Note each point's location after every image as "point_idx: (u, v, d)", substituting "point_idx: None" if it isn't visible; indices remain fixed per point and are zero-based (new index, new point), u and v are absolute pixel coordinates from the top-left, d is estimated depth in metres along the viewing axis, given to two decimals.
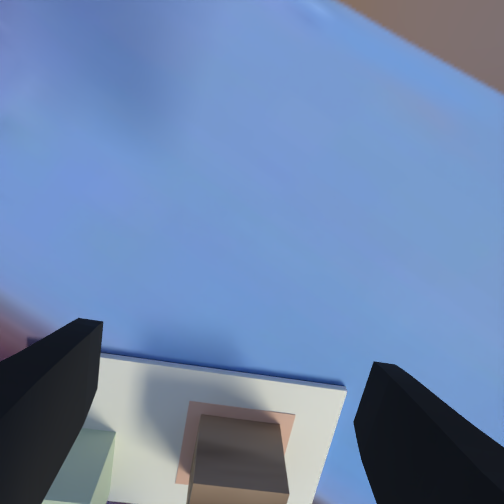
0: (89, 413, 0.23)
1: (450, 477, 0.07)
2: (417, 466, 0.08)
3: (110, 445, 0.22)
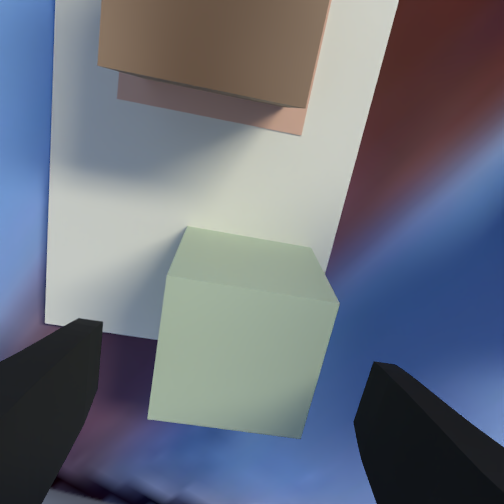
0: (151, 261, 0.15)
1: (450, 477, 0.07)
2: (417, 466, 0.08)
3: (184, 235, 0.14)
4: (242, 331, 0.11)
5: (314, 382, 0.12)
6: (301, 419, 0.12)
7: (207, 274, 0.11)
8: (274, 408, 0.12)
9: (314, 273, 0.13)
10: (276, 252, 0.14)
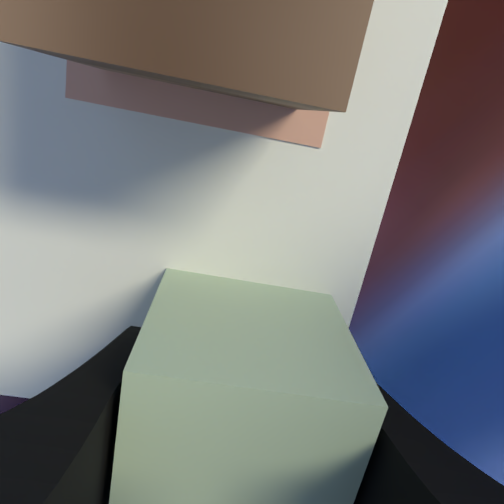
0: (120, 314, 0.11)
1: (382, 469, 0.07)
2: None
3: (161, 284, 0.10)
4: (241, 447, 0.07)
5: None
6: None
7: (187, 361, 0.07)
8: None
9: (342, 344, 0.09)
10: (286, 307, 0.10)
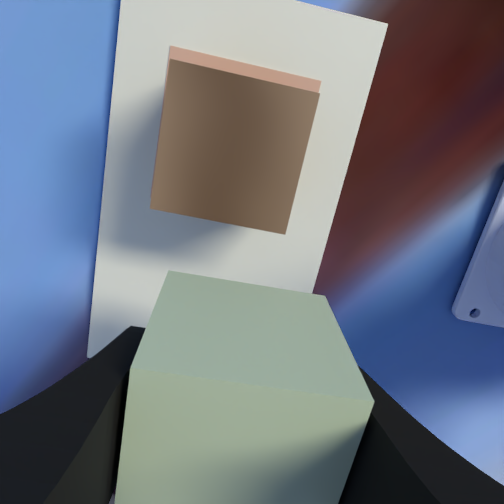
0: None
1: (382, 469, 0.07)
2: (357, 459, 0.08)
3: (163, 286, 0.11)
4: (238, 439, 0.08)
5: (336, 499, 0.09)
6: None
7: (189, 359, 0.08)
8: None
9: (333, 343, 0.10)
10: (282, 308, 0.11)
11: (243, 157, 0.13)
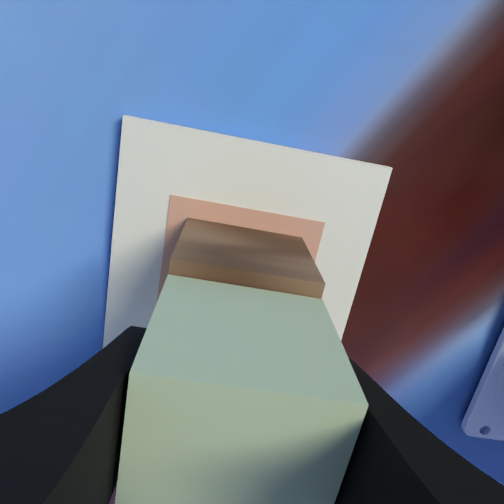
0: None
1: (382, 469, 0.07)
2: (356, 459, 0.08)
3: (163, 290, 0.11)
4: (235, 441, 0.08)
5: (332, 500, 0.09)
6: None
7: (187, 363, 0.08)
8: None
9: (330, 346, 0.10)
10: (280, 311, 0.11)
11: None
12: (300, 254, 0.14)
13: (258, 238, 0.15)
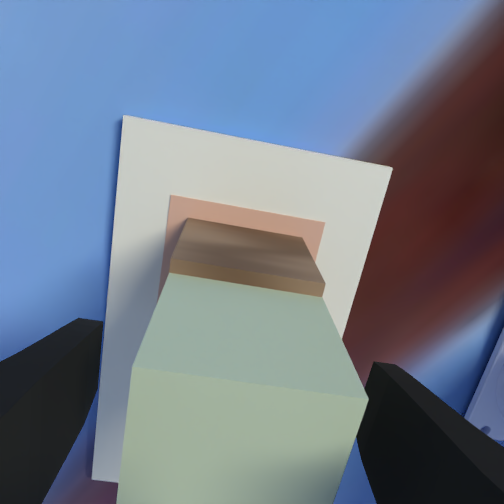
0: None
1: (450, 477, 0.07)
2: (417, 466, 0.08)
3: (164, 288, 0.11)
4: (237, 435, 0.08)
5: (332, 495, 0.09)
6: None
7: (189, 358, 0.08)
8: None
9: (330, 343, 0.10)
10: (280, 309, 0.11)
11: None
12: (300, 254, 0.14)
13: (258, 238, 0.15)
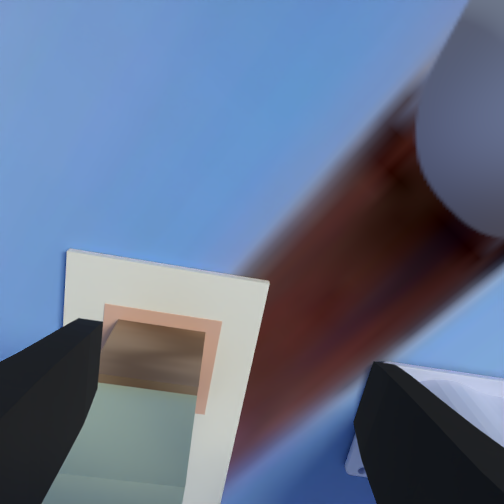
0: None
1: (450, 477, 0.07)
2: (417, 465, 0.08)
3: None
4: None
5: None
6: None
7: (79, 462, 0.14)
8: None
9: (182, 441, 0.15)
10: (159, 411, 0.16)
11: None
12: (194, 354, 0.20)
13: (167, 338, 0.20)
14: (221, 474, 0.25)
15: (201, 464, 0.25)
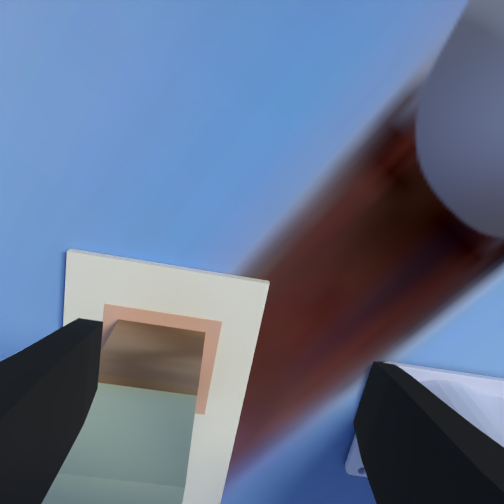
0: None
1: (450, 477, 0.07)
2: (417, 466, 0.08)
3: None
4: None
5: None
6: None
7: (79, 462, 0.14)
8: None
9: (181, 441, 0.15)
10: (159, 411, 0.16)
11: None
12: (194, 354, 0.20)
13: (167, 338, 0.20)
14: (221, 474, 0.25)
15: (201, 464, 0.25)
